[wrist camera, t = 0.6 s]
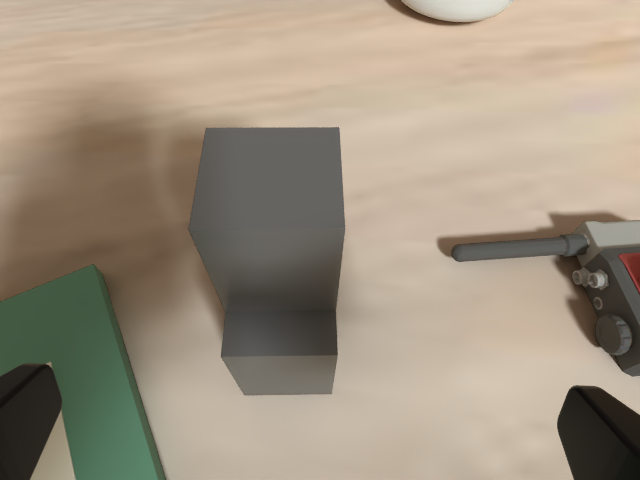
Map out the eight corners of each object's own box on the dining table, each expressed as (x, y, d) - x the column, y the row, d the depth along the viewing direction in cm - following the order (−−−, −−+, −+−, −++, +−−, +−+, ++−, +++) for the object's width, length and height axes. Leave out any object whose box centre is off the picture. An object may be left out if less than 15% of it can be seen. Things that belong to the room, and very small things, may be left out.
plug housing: (331, 394, 22) (348, 286, 11) (244, 395, 22) (178, 287, 11) (328, 277, 25) (338, 110, 15) (252, 278, 25) (208, 111, 15)
